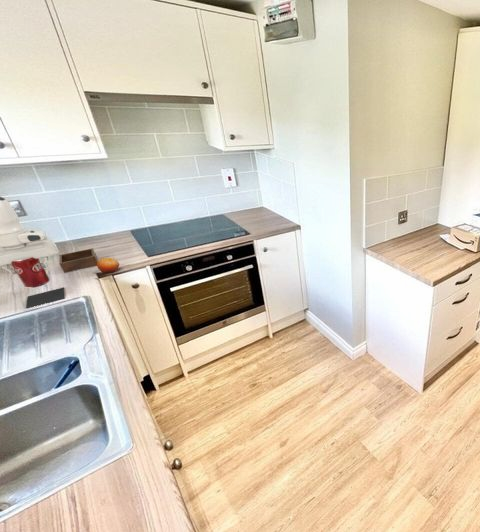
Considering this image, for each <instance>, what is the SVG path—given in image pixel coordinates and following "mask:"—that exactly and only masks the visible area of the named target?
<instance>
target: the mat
mask: <svg viewBox="0 0 480 532" xmlns="http://www.w3.org/2000/svg"><path fill="white" fill-rule="evenodd" d="M65 298H66V297H65V287H59V288H56V289H52V290H47V291H43V292H40V293H36V294H35V293H34V294H31V295H28V296H27V297H26V304H25V309H26V308H27V309H30V307H31V308H34V306H35V307H38V306H42V305H45V303H46V304H49V303H53V302H57V301H61V300H64V299H65ZM41 304H42V305H41ZM37 305H38V306H37Z"/></svg>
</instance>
